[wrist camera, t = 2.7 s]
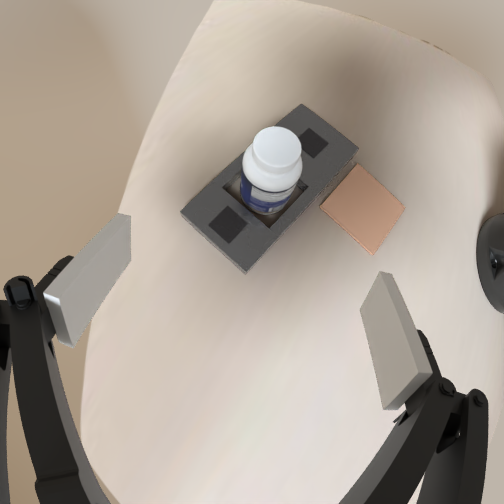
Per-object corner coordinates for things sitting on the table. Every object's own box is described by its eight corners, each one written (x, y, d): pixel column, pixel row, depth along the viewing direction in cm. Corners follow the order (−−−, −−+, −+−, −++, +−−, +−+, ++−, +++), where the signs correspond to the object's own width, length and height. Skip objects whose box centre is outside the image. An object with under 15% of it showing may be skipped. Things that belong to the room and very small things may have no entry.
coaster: (356, 164, 35) (357, 163, 34) (403, 208, 34) (405, 207, 33) (319, 207, 33) (320, 205, 32) (371, 255, 32) (373, 254, 32)
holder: (298, 111, 36) (301, 103, 34) (354, 154, 35) (359, 148, 33) (182, 216, 31) (179, 211, 30) (245, 274, 31) (246, 272, 29)
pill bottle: (244, 166, 33) (251, 113, 24) (291, 176, 34) (313, 127, 24) (234, 210, 32) (237, 166, 23) (284, 220, 32) (306, 181, 23)
